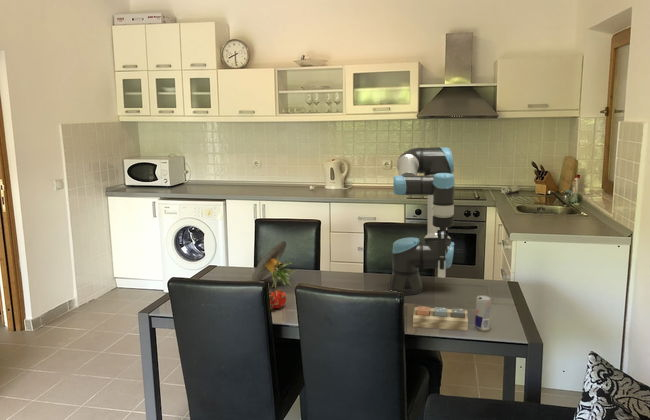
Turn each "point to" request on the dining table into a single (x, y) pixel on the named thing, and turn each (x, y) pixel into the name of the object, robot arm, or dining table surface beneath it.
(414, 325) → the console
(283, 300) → the dragon fruit
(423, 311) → the one dot button
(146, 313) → the dining table surface
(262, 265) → the grey yellow green piece
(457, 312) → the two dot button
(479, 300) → the energy drink
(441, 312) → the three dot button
